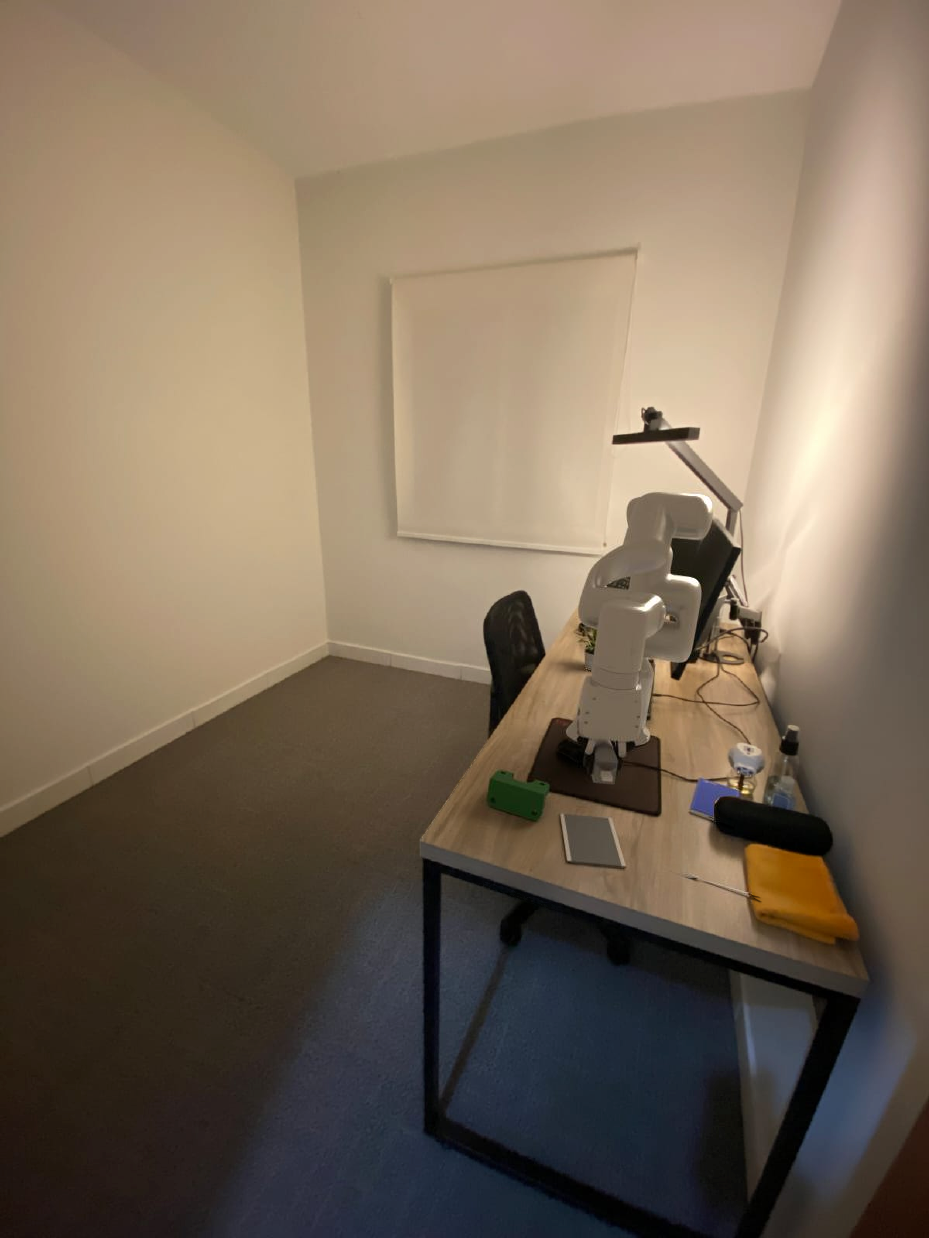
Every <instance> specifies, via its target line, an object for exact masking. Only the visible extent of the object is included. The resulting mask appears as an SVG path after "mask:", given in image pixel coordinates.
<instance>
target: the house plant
mask: <svg viewBox="0 0 929 1238" xmlns="http://www.w3.org/2000/svg"><path fill="white" fill-rule="evenodd" d="M575 625H577V626H578V624H575ZM579 626H580V627H582V629H583V630H584V634H585V635H586V636H587V638H588V640H584V639H583V638H582V637H580V636H575V637H577V638H579V639H580V640H579V639H578V641H577V643H581V642H583V643H584V644H585V648H584V650H583V651H584V668H585V667H586V668H587V669H588V670H587V669H586V668H585V669H586V670H587V671H589V670H591V671H590V672H592V666H593V658H594V650H595V643H596V635H597V629H595V628H591V632H592V635H590V633H588V631H587V630H586V628H585V627H584V626H582V625H580V624H579Z"/></svg>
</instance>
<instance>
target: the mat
mask: <svg viewBox="0 0 929 1238" xmlns="http://www.w3.org/2000/svg"><path fill="white" fill-rule="evenodd" d="M559 818H560V825H561V831H562V837H563V845H564V851H565V856H566V858H565V859H566V862H567V863H568V864H580V865H589V866H599V867H609V868H611V867H612V868H621V869H622V868H623V869H626V867H627V864H626V861H625V858H624V855H623V852H622V848H621V846H620V842H619V838H618V834H617V832H616V828H615V824H614V820H613V818H612V817H602V816H601V817H600V816H592V815H591V816H590V815H577V814H569V813H568V814H567V813H559Z"/></svg>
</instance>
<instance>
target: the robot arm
mask: <svg viewBox="0 0 929 1238" xmlns="http://www.w3.org/2000/svg"><path fill="white" fill-rule="evenodd" d="M625 512H626V516H625V517H626V523H627V528H626V532H625V535H624V539H623V542H622V545H619V546H618V547H616V548H614V549H612V550H611V551H609V552H608V553H606V554H605V555H603V556H602V557H601V558H599V559H598V560H597V561H596V562H595V563H594V564H593V566H592V567H591V568H590V570H589V572H588V574H587V576H586V579H585V582H584V585H583V588H582V590H581V594H580V598H579V602H578V606H577V609H578V610H577V614H578V619H579V621H580V622H581V623H582V624H583V625H584V626H586V627H588V628H591V629H592V628H595V629H597V635H596V643H595V650H594V658H593V666H592V671H591V675H587V676H585V679H584V681H583V684H582V687H581V691H580V693H579V699H578V703H577V709H576V713H575V719H573V721H572V722H571V723H570V725H569V726H568V727H567V728H566V729H565V733H566V736H567V737H569V738H570V739H571V740H572V741H575V742H577V744H578V745H579V746H580V747H581V748H582V749H583V750H584V752H583V760H582V765H583V768H586V771H587V775H590V776H591V774H592V772H593V765H594V758H595V755H594V746H595V743H596V739H601V740H610V741H611V742H613V743H614V744H615V746H613V749H614V752H615V754H616V757H617V760H618V765H617V771H616V777H615V778H617V777H618V771H621V769H622V764H623V758H625V757H626V756H627V753H628V752H630V751H631V750H633V749H634V748H635V747H636V746H637V747H638V746H641V745H644V744H646V743H648V742H649V741H650V739H651V733H650V730H649V729H648V727H646V723H647V715H648V712H649V707H650V705H649V704H650V700H651V695H652V694H651V693H652V689H653V684H654V683H653V682H654V676H655V675H654V674H655V673H654V669H653V667H652V666H653V665H652V664H651V663H650V661H649V660H648V659H655V660H661V661H666V662H671V663H684V662H686V661H688V659H689V658H690V655H691V654H692V650H693V645H694V640H695V636H696V635H695V634H696V630H697V624H698V619H699V612H700V608H701V600H702V586H701V584H700V582H699V581H698V580H697V579H696V578H694V577H691V576H685V575H684V576H683V575H679V574H678V575H677V574H672V573H671V567H672V563H673V556H674V553H673V550H672V540H673V539H682V540H683V539H684V540H692V541H701V540H703V539H704V538H706V536H707V535H708V533H709V532H710V528H711V526H712V522H713V516H714V507H713V504H712V501H711V500H710V498H709V497H708V496H705V495H703V494H698V493H697V494H695V493H682V492H681V493H679V492H666V491H652V492H648V493H645V494H643V495H641V496H637V497H634V498H632V499H630V501H629V502H628V504H627V506H626V511H625ZM625 578H629V579H630V580H629V586H628V589H624V588H617V587H609V586H608V585H609V584H611V583H613V582H615V581H617V580H621V579H625ZM666 616H670V617H673V618H674V619H675V621H672V620H666Z"/></svg>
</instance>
